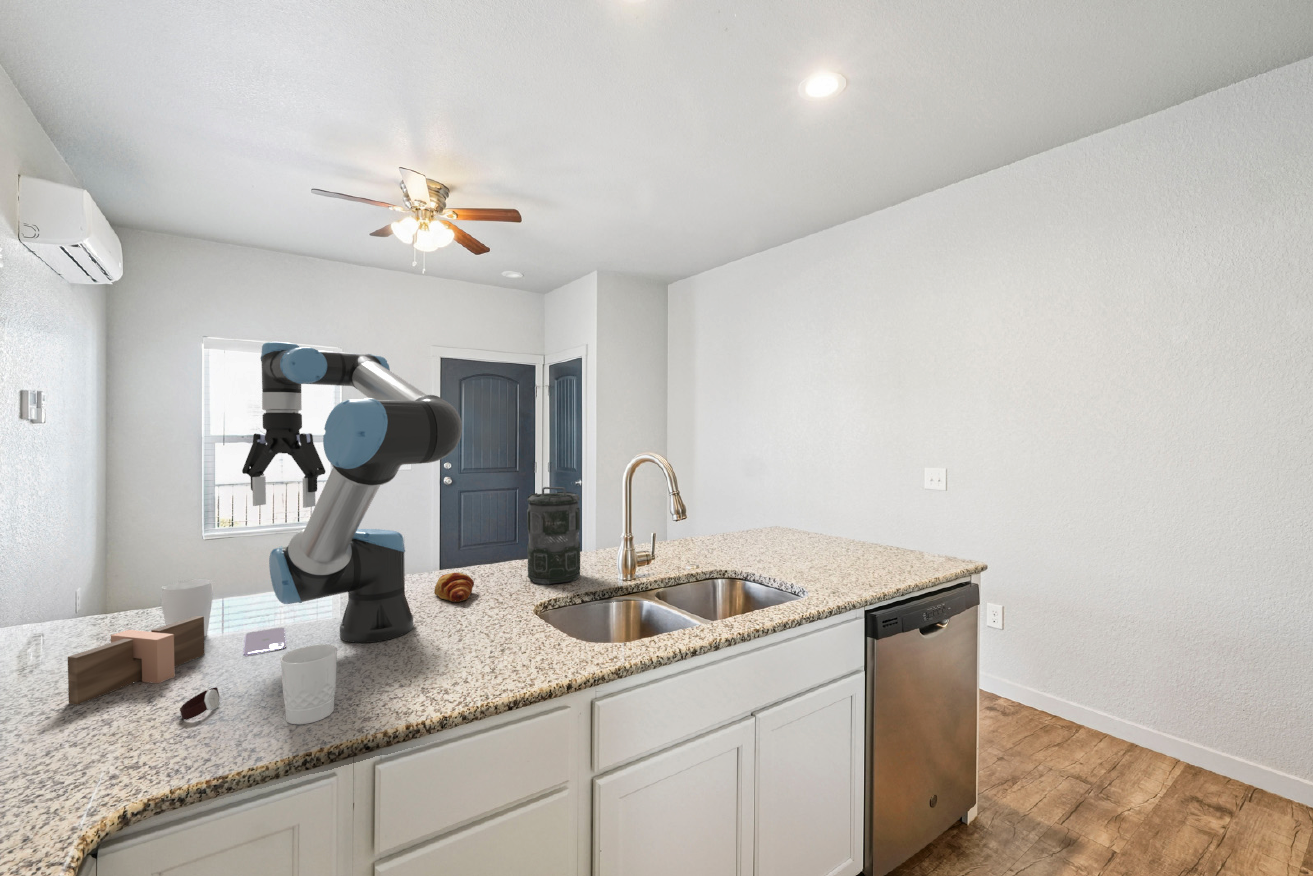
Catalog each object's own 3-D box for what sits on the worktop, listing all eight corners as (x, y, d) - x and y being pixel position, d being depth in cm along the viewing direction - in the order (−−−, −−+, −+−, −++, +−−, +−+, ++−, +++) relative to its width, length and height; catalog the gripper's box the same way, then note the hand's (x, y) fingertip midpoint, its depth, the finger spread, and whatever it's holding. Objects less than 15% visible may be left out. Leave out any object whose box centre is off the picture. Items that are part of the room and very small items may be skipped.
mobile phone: (285, 625, 137) (287, 646, 124) (285, 630, 137) (287, 650, 124) (245, 632, 133) (243, 653, 120) (245, 636, 133) (243, 658, 120)
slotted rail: (204, 655, 121) (203, 616, 121) (77, 705, 100) (76, 657, 99) (196, 654, 121) (196, 615, 121) (68, 703, 100) (67, 656, 100)
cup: (185, 647, 125) (184, 591, 125) (150, 644, 127) (149, 588, 127) (224, 632, 134) (223, 580, 134) (191, 629, 136) (190, 578, 136)
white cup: (297, 704, 100) (296, 645, 99) (346, 702, 100) (345, 643, 100) (271, 728, 92) (270, 664, 92) (324, 725, 92) (323, 662, 92)
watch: (205, 721, 94) (204, 698, 94) (170, 724, 93) (170, 702, 93) (227, 699, 102) (227, 678, 102) (196, 702, 101) (195, 681, 101)
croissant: (437, 599, 171) (422, 577, 169) (468, 579, 175) (454, 557, 174) (452, 618, 153) (436, 593, 151) (486, 595, 157) (471, 570, 155)
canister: (519, 584, 174) (518, 489, 173) (538, 571, 190) (538, 484, 189) (571, 586, 171) (570, 490, 171) (586, 573, 187) (586, 484, 186)
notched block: (174, 676, 111) (173, 634, 111) (157, 683, 108) (156, 640, 108) (129, 671, 113) (128, 629, 113) (111, 677, 110) (110, 635, 110)
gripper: (342, 411, 134) (343, 505, 135) (252, 412, 140) (253, 502, 140) (315, 411, 127) (317, 509, 127) (222, 412, 132) (224, 506, 133)
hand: (284, 506), depth 134 cm, fingers open, 13 cm apart
